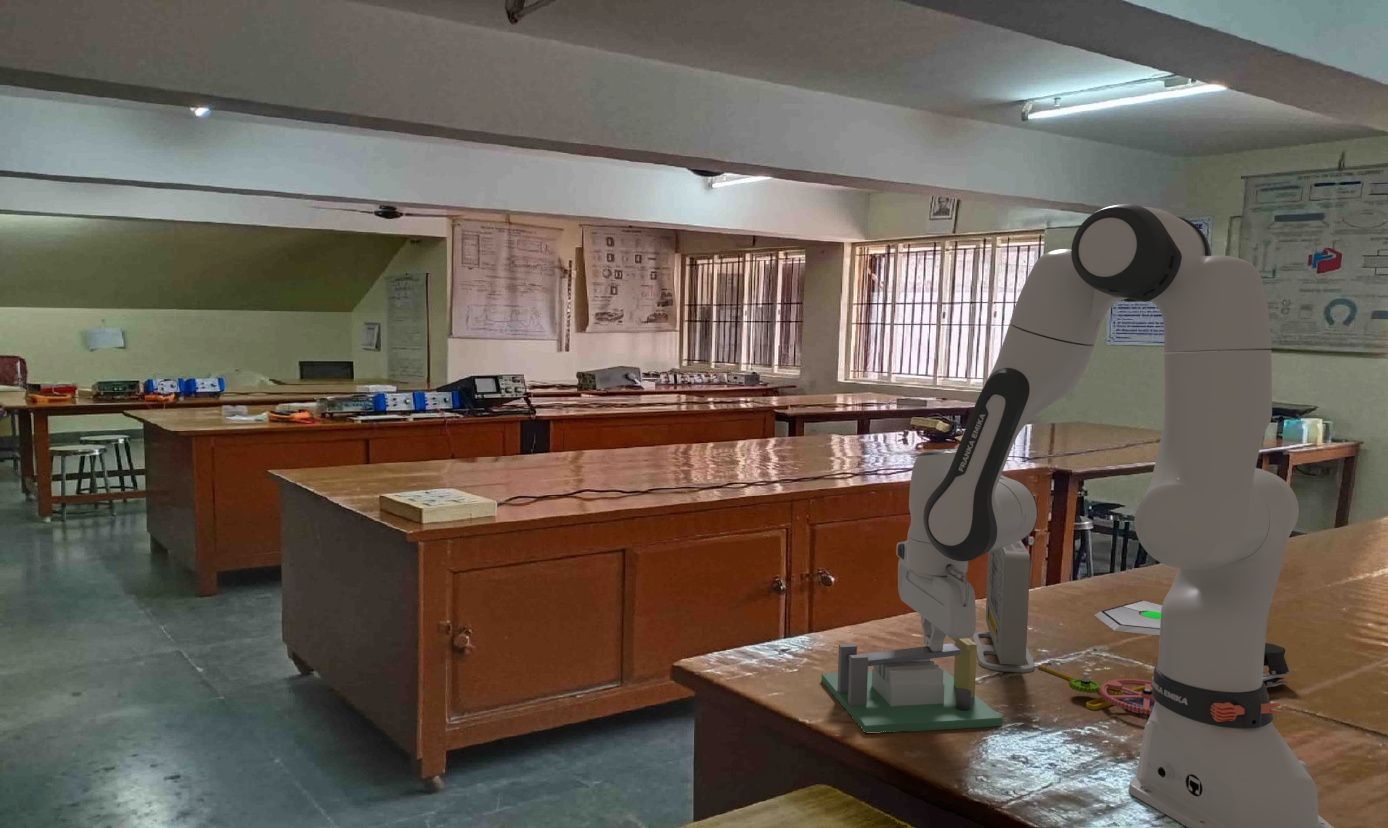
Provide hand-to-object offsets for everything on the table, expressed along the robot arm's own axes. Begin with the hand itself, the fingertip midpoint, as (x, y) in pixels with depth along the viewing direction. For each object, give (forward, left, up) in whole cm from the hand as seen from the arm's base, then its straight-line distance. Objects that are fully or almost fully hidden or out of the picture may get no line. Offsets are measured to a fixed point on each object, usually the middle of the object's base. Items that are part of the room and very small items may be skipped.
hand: (933, 648), depth 143 cm
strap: (0, +5, -1) cm, 5 cm away
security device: (+31, -57, -9) cm, 66 cm away
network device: (+19, -21, -8) cm, 29 cm away
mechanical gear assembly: (-4, -29, -9) cm, 30 cm away
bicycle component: (0, -51, -8) cm, 52 cm away
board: (0, +4, -8) cm, 9 cm away
